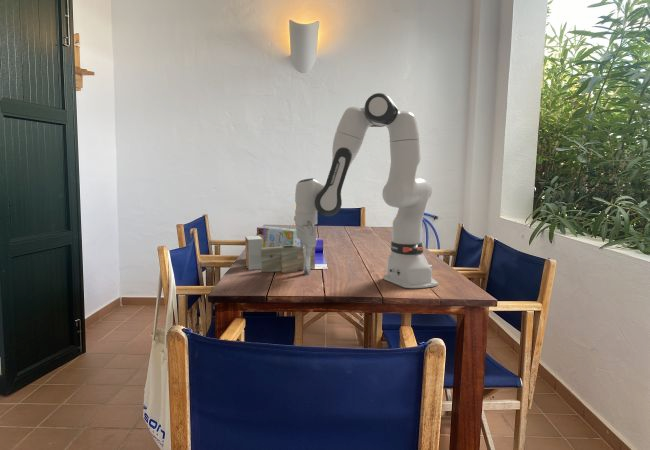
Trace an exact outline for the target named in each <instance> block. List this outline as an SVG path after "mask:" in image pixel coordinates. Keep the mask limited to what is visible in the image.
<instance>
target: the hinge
mask: <svg viewBox="0 0 650 450" xmlns="http://www.w3.org/2000/svg"><path fill="white" fill-rule="evenodd" d="M315 266H316V246H315V247H313V248H312V252H311V256H310V270H314V269H316V267H315ZM260 270H261V273H272V272H273V273H275V272H281V273H284V274H285V273H294V272H298V271H302V270H303V251H302V250H301V245H300V246H295V245H283V246H279V247H269V248H261V269H260Z"/></svg>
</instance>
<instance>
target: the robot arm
mask: <svg viewBox="0 0 650 450" xmlns="http://www.w3.org/2000/svg"><path fill="white" fill-rule="evenodd" d="M370 127H371V128H373V127H375V128H382V127H383V128H384V127H386V128H387V131H388V134H389V147H390V148H389V149H390V151H389V152H390V153H389V154H390V165H389V166H390V168H389V173H388V178H387V181H386V184H385V185H384V186H383V188H382V193H381V195H382V199H383V201H384V202H385V204H386V205H388V206H389V207H393V208H397V209H398V211H397V214H396V215H395V217H394V219H393V221H392V234H391V237H392V238H391V239H392V241H391V242H390V251H391V253H390V255H388V257H387V262H386V271H385V272H386V273H385V274H384V275H383V276H382V279H383V280H385V281H388V282H390V283H392V284H395V285H396V286H399V287H402V288H404V289H424V288H431V287H437V286H438V285H439V282H438V281H437V280H436V279H434V278H433V277H432V275H433V274H432V271H433V265H432V264H429V262H428V260H427V258H426V256H425V255H424V246H423V242H422V226H423V225H422V224H423V220H424V214H425V212H426V211H425V210H426V208H427V204H428V201H429V199H430V198H431V197H432V191H433V189H432V186H431V184H430V182H429V181H428V180H426V179H424V178H421V177H419V176H418V177H417V176H416V175H417V170H418V165H420V162H421V150H420V149H421V148H420V147H421V146H420V136H419V135H420V134H419V127H418V123H417V119H416V117H415V114H414V113H413V112H410V111H406V110H405V111H404V110H399V109H398V107H397V106H396V104H395V102H394V101H393V100H392V98H391V97H390V96H389V95H387V94H385V93H381V92H378V93H374V94H372V95H370V96H369V97H368V98H367V99H366V102H365V103H364V107H357V106H351V107H347V108H345V110H344V112H343V114H342V116H341V118H340V120H339V123H338V125H337V128H336V131H335V133H334V137H333V143H332V162H331V166H330V169H329V172H328V175H327V179H326V182H325V183H324V184H323V183H322V182H320V181H318V180H317V179H316V178H305V179H301V180H299V181H298V182H297V183H296V186H295V195H294V197H295V198H294V202H295V209H294V210H295V211H294V222H295V223H294V224H295V229H296V234H297V238H298V239H299V240H300V246H301V250H302V251H303V243H304V244H305V245H306V246H307V251H306V255H307V256H311V252H312V248H313V247H315V248H316V246H317V230H316V227H315V225H318V214H320V215H321V216H323V217H332V216H335V215H336V214H338V213H339V212H340V210H341V208H342V202H343V200H342V189H343V185H344V183H345V180H346V176H347V173H348V171H349V168H350V166H351V164H352V163H353V161H354V160H355V158H356V156H357V155H358V153H359V151H360V149H361V147H362V144H363V141H364V138H365V136H366V132H367V130H368V129H369V128H370Z"/></svg>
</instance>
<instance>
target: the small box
mask: <svg viewBox="0 0 650 450" xmlns="http://www.w3.org/2000/svg"><path fill="white" fill-rule="evenodd" d="M244 239H245V240H244V241H245V266H246V267H247V269H248V271H251V270H252V271H253V270H261V248H263V239H262V238H261V237H260V236H257V235H249V236H245V237H244Z"/></svg>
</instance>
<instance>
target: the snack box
mask: <svg viewBox="0 0 650 450" xmlns="http://www.w3.org/2000/svg"><path fill="white" fill-rule="evenodd" d="M256 236H260V237H261V238H262V239H263V248H269V247H279V246H283V245H295V246H301V244H300V240H299V239H298V238H297V234H296V228H287V227H286V228H285V227H277V226H269V225H263V226H257V227H256Z"/></svg>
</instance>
